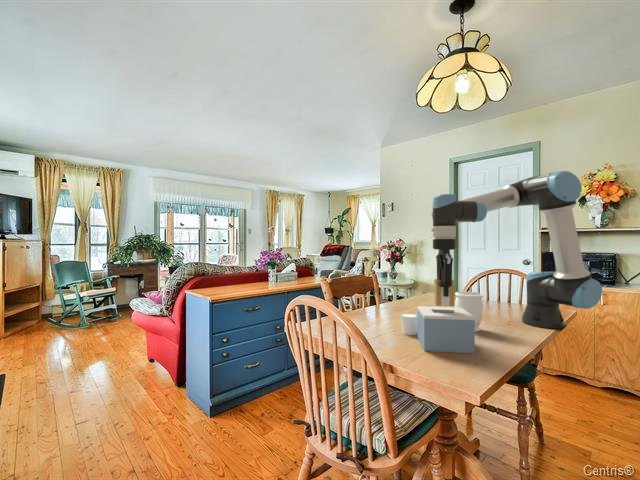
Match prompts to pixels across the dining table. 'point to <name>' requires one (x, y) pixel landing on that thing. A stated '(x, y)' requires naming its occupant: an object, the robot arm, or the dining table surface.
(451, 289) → the wooden rectangular block
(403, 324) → the white cylinder
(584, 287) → the robot arm
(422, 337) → the box
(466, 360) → the dining table surface
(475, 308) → the jar
